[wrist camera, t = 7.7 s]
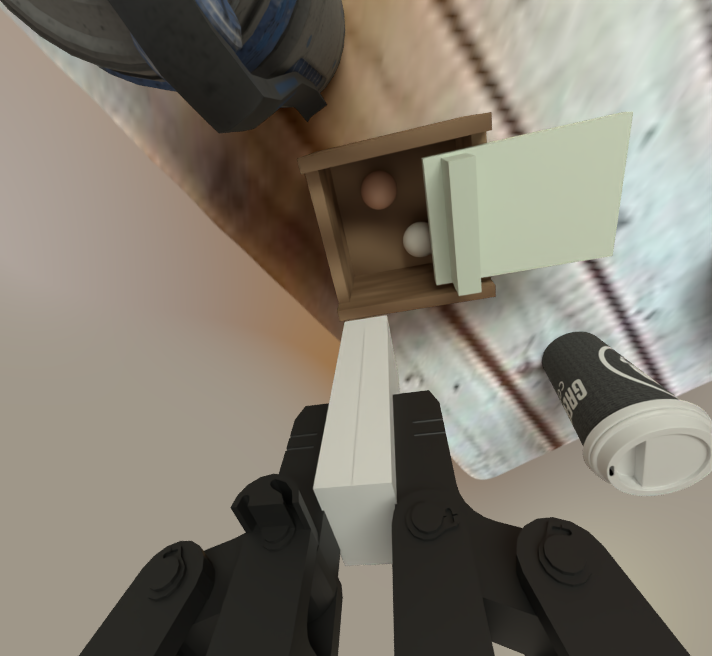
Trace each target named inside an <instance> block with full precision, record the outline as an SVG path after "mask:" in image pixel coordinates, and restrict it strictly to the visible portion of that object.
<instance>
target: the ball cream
mask: <svg viewBox="0 0 712 656" xmlns="http://www.w3.org/2000/svg"><path fill="white" fill-rule="evenodd" d="M403 244H404V247H405V249H406V251H407V252H408V253H409V254H410V255H412V256H414V257H425V256H428V255H429V254H431V253H432V250H431V241H430V232H429V223H426V222H416V223H414V224H412V225H410V226H409V227H408V228H407V230H406V231H405V233H404V236H403Z"/></svg>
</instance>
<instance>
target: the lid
mask: <svg viewBox="0 0 712 656" xmlns="http://www.w3.org/2000/svg"><path fill="white" fill-rule="evenodd" d="M632 117H633V112H622V113H617V114H613V115H608V116H604V117H599V118H595V119H591V120H586V121H582V122H577V123H573V124H568V125H564V126H560V127H555V128H551V129H546V130H542V131H537V132H533V133H529V134H524V135H520V136H515V137H511V138H506V139H502V140H498V141H493V142H489V143H484V144H480V145H476V146H471V147H467V148H462V149H458V150H453V151H449V152H445V153H440V154H436V155H431V156H427V157H422V158H421V160H422V169H423V178H424V187H425V196H426V205H427V214H428V223H429V232H430V241H431V250H432V259H433V268H434V277H435V282H436V285H441V284H447V283H453V284H454V286H455V289H456V291H457V293H458V295H459V296H462V295H468V294H474V293H480V292H482V289H481V278H483V277H489V276H495V275H501V274H507V273H513V272H519V271H525V270H531V269H537V268H543V267H549V266H555V265H561V264H566V263H572V262H578V261H584V260H590V259H596V258H602V257H608V256H613V249H614V242H615V235H616V228H617V221H618V214H619V207H620V200H621V193H622V186H623V179H624V172H625V165H626V158H627V151H628V144H629V137H630V130H631V124H632Z"/></svg>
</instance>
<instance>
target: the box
mask: <svg viewBox="0 0 712 656" xmlns="http://www.w3.org/2000/svg"><path fill="white" fill-rule="evenodd" d="M489 130H492V115H491V112H489V113H483V114H476V115H470V116H464V117H460V118H455V119H451V120H447V121H443V122H439V123H435V124H430V125H426V126H422V127H418V128H414V129H410V130H405V131H401V132H397V133H393V134H389V135H384V136H380V137H376V138H372V139H368V140H364V141H359V142H355V143H351V144H347V145H343V146H339V147H334V148H330V149H326V150H322V151H318V152H315V153H312V154H309V155H306V156H303V157H300V158H297V162H298V165H299V169H300V173H301V174H303V173H305V175H306V179H307V183H308V187H309V191H310V195H311V198H312V202H313V206H314V210H315V214H316V218H317V221H318V225H319V229H320V233H321V237H322V241H323V244H324V248H325V252H326V256H327V260H328V264H329V268H330V271H331V275H332V279H333V283H334V287H335V291H336V294H337V298H338V302H339V306H338V310H337V312H338V316H339V320H340V321H345V320H351V319H357V318H364V317H370V316H376V315H383V314H389V313H395V312H402V311H408V310H414V309H421V308H427V307H433V306H439V305H446V304H452V303H458V302H465V301H471V300H477V299H484V298H490V297H496V292H495V284H494V283H493V281H492V280H491V276H489V277H483V278H481V289H482V292H480V293H474V294H468V295H462V296H459V295H458V293H457V291H456V289H455V286H454V284H453V283H447V284H441V285H436V282H435V277H434V268H433V259H432V253H431V254H429V255H428V256H425V257H414V256H412V255H410V254H409V253H408V252H407V251H406V249H405V247H404V244H403V236H404V233H405V231H406V230H407V228H408V227H409V226H410V225H412V224H414V223H416V222H426V223H428V214H427V205H426V196H425V187H424V178H423V169H422V160H421V158H422V157H427V156H431V155H436V154H440V153H445V152H449V151H453V150H458V149H462V148H467V147H471V146H476V145H480V144H484V143H487V139H486V131H489ZM377 170H382V171H386V172H388V173H389V174H391V175H392V176H393V178H394V179H395V181H396V184H397V195H396V198H395V200H394V202H393V203H392V204H391V205H390V206H389V207H387V208H385V209H381V210H376V209H372V208H370V207H369V206H367V205H366V204H365V203H364V201H363V199H362V197H361V184H362V182H363V180H364V178H365V177H366V176H367V175H368V174H369V173H371V172H373V171H377Z"/></svg>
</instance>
